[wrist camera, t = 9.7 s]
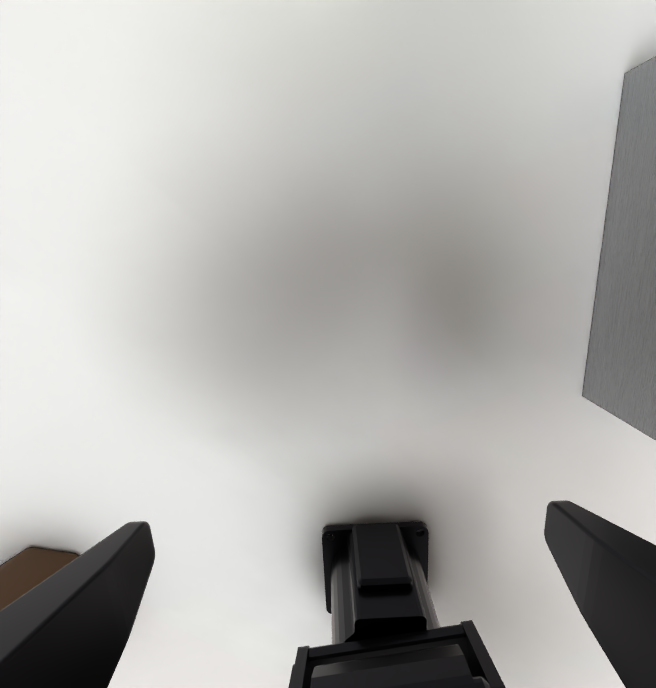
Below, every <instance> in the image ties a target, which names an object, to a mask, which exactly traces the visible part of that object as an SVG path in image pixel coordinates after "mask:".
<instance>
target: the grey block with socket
mask: <svg viewBox="0 0 656 688" xmlns="http://www.w3.org/2000/svg"><path fill="white" fill-rule="evenodd" d="M582 396H583V397H585V398H586V399H588V400H590V401H591V402H593V403H595V404H596V405H598V406H600V407H601V408H603V409H605V410H606V411H608V412H609V413H611V414H613V415H614V416H616V417H618V418H619V419H621V420H623V421H624V422H626V423H628V424H629V425H631V426H633V427H634V428H636V429H637V430H639V431H641V432H642V433H644V434H646V435H647V436H649V437H651V438H652V439H654V440H656V57H654V58H652V59H650V60H648V61H647V62H645V63H643V64H641V65H639V66H637V67H636V68H634V69H632V70H630V71H628V72H627V73H625V77H624V85H623V93H622V100H621V108H620V115H619V123H618V130H617V138H616V146H615V153H614V161H613V168H612V176H611V183H610V191H609V199H608V206H607V214H606V221H605V229H604V236H603V244H602V252H601V259H600V267H599V274H598V282H597V289H596V297H595V305H594V312H593V320H592V327H591V335H590V342H589V350H588V358H587V365H586V373H585V380H584V388H583V395H582Z"/></svg>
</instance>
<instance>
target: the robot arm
mask: <svg viewBox="0 0 656 688" xmlns="http://www.w3.org/2000/svg"><path fill="white" fill-rule="evenodd" d="M418 530H422V531H420V532H417V531H418ZM328 534H332V535H333V536H328ZM428 534H429V533H428V529H427V526H426V524H425V523H423V522H400V523H379V524H358V525H338V526H327V527H325V528H324V529H323V531H322V545H323V561H324V576H325V592H326V608H327V611H328V612H329V613H330V614H332V645H325V646H319V647H313V648H310V647H309V646H304V647H298V651H297V656H296V661H295V664H294V665H293V668H292V673H291V678H290V683H289V688H505V685H504V683H503V681H502V679H501V677H500V675H499V673H498V672H497V670H496V668H495V666H494V664H493V662H492V660H491V658H490V656H489V654H488V652H487V650H486V648H485V646H484V644H483V642H482V640H481V638H480V636H479V634H478V632H477V630H476V628H475V626H474V624H473V622H472V620H469V621H463V622H461V624H459V625H453V626H446V627H440V626H439V623H438V619H437V616H436V613H435V609H434V606H433V603H432V599H431V596H430V592H429V589H428V586H427V578H428ZM544 535H545V540H546V543H547V545H548V547H549V549H550V551H551V553H552V555H553V557H554V559H555V562H556V564H557V566H558V568H559V570H560V572H561V574H562V576H563V578H564V580H565V582H566V584H567V586H568V588H569V590H570V592H571V594H572V596H573V598H574V600H575V602H576V604H577V606H578V608H579V610H580V612H581V614H582V616H583V617H584V619H585V621H586V622H587V624H588V626H589V628H590V629H591V631H592V633H593V634H594V636H595V638H596V639H597V641H598V643H599V644H600V646H601V647H602V649H603V651H604V652H605V654H606V656H607V657H608V659H609V661H610V662H611V664H612V666H613V667H614V669H615V671H616V672H617V674H618V676H619V677H620V679H621V680H622V682H623V684H624V685H625V687H626V688H656V545H654V544H652V543H650V542H648V541H646V540H644V539H642V538H640V537H638V536H636V535H635V534H633V533H631V532H629V531H627V530H625V529H623V528H621V527H619V526H617V525H615V524H613V523H611V522H609V521H607V520H605V519H603V518H602V517H600V516H598V515H596V514H594V513H592V512H590V511H588V510H586V509H584V508H582V507H580V506H578V505H576V504H574V503H572V502H570V501H551V502H550V503H549V504H548V506H547V512H546V521H545V529H544ZM154 559H155V549H154V544H153V539H152V534H151V529H150V525H149V524H148V523H147V522H145V521H140V522H129V523H127V524H125V525H124V526H122V527H121V528H119V529H118V530H117V531H115V532H114V533H112V534H111V535H109V536H108V537H106V538H105V539H103V540H102V541H101V542H99V543H98V544H96V545H95V546H93V547H92V548H90V549H89V550H88V551H86V552H85V553H83V554H82V555H80V556H79V557H77V558H76V559H75V560H73V561H72V562H70V563H69V564H67V565H66V566H64V567H63V568H62V569H60V570H59V571H57V572H56V573H54V574H53V575H51V576H50V577H48V578H47V579H46V580H44V581H43V582H41V583H40V584H38V585H37V586H35V587H34V588H33V589H31V590H30V591H28V592H27V593H25V594H24V595H22V596H21V597H20V598H18V599H17V600H15V601H14V602H12V603H11V604H9V605H8V606H6V607H5V608H4V609H2V610H1V611H0V688H107V687H108V685H109V683H110V680H111V678H112V676H113V674H114V671H115V669H116V667H117V664H118V662H119V660H120V657H121V655H122V653H123V650H124V648H125V646H126V643H127V641H128V638H129V636H130V633H131V630H132V627H133V625H134V622H135V619H136V615H137V612H138V609H139V606H140V603H141V600H142V597H143V594H144V591H145V588H146V585H147V582H148V579H149V576H150V573H151V570H152V567H153V564H154Z"/></svg>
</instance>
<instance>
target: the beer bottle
mask: <svg viewBox="0 0 656 688" xmlns="http://www.w3.org/2000/svg"><path fill="white" fill-rule="evenodd" d="M77 557H79V556H78V555H77V554H75V553H68V552H61V551H54V550H47V549H40V548H34V547H31V548H28V549H26V550H24V551H23V552H21V553H20V554H18V555H16V556H15V557H13V558H12V559H10V560H9V561H7V562H6V563H4V564H3V565H1V566H0V611H1V610H2V609H4V608H5V607H6V606H8V605H9V604H11V603H12V602H14V601H15V600H17V599H18V598H20V597H21V596H22V595H24V594H25V593H27V592H28V591H30V590H31V589H33V588H34V587H35V586H37V585H38V584H40V583H41V582H43V581H44V580H46V579H47V578H48V577H50V576H51V575H53V574H54V573H56V572H57V571H59V570H60V569H62V568H63V567H64V566H66V565H67V564H69V563H70V562H72V561H73V560H75V559H76V558H77Z"/></svg>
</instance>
